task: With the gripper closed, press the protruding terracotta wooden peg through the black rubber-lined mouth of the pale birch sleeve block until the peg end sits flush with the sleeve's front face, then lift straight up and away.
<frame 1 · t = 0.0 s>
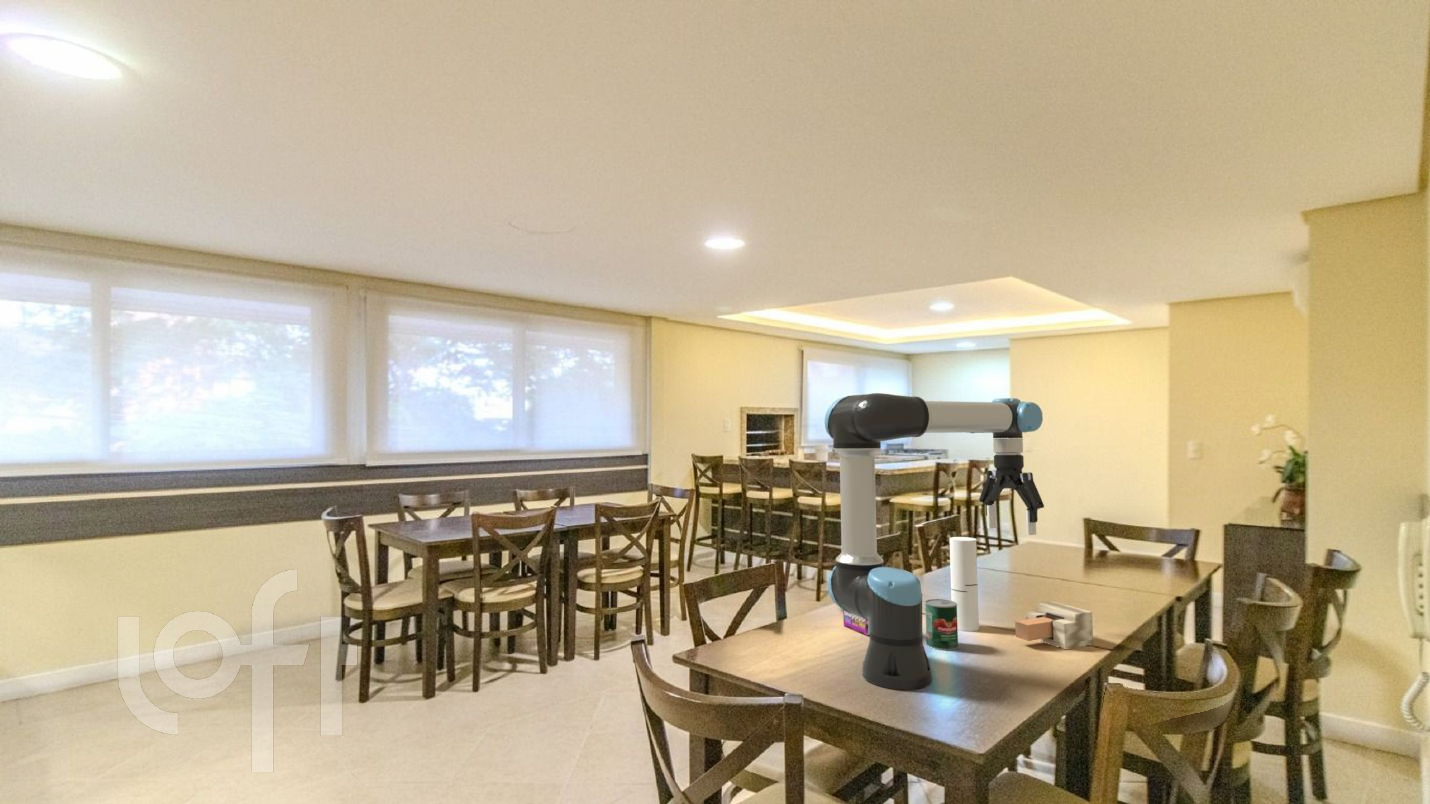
hand: (1011, 531, 179), 28 cm above the table, tool pointing down, fingers open, 13 cm apart
sleeve: (1059, 640, 172), on the table
canned tomato: (942, 646, 169), on the table
cylindrical container: (965, 628, 185), on the table
peg: (1036, 628, 170), point 4 cm above the table, slide at 8.0 cm
candy bar box: (861, 630, 184), on the table
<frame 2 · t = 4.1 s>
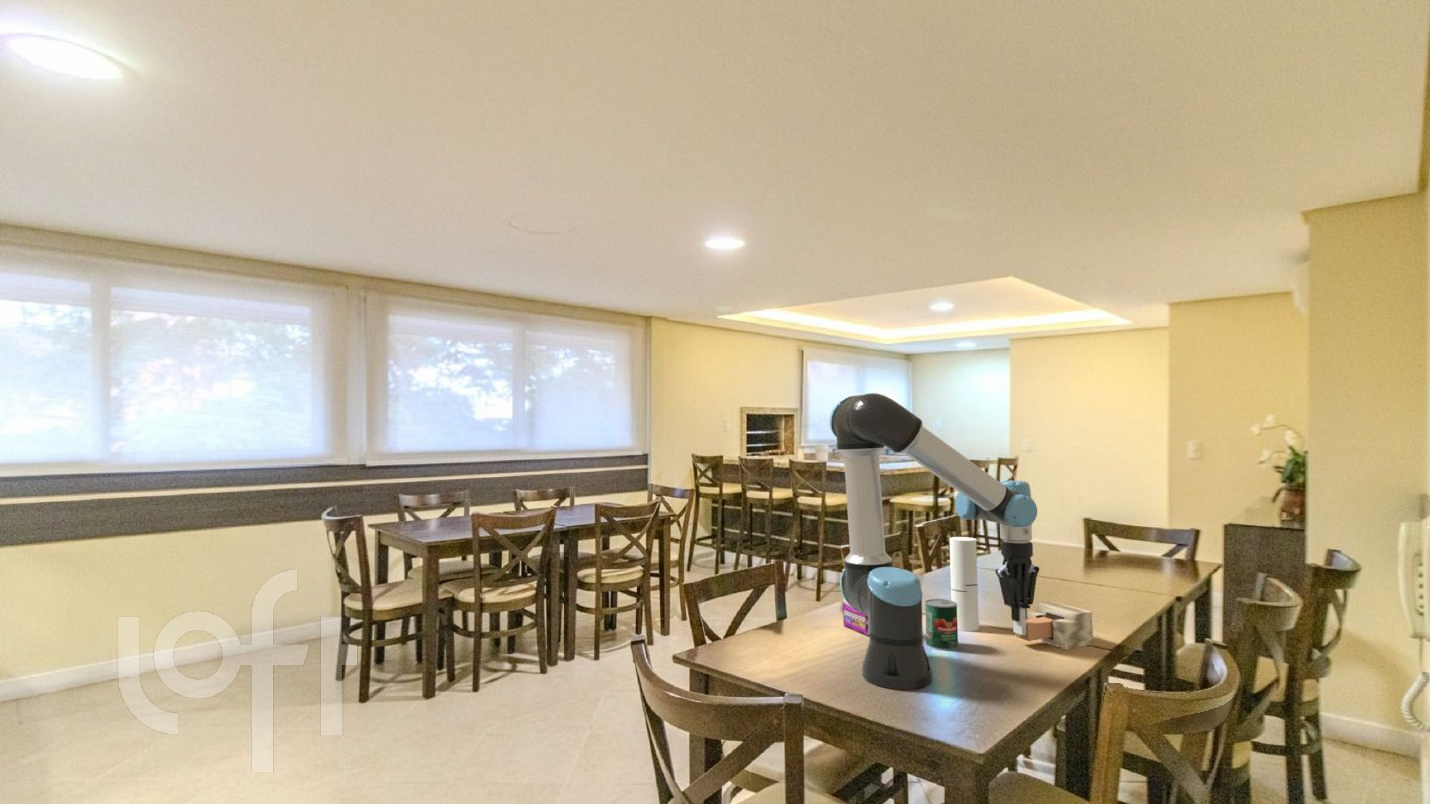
hand: (1019, 633, 167), 4 cm above the table, tool pointing down, fingers closed
peg: (1036, 628, 170), point 4 cm above the table, slide at 8.0 cm, touching gripper
everything else where it was.
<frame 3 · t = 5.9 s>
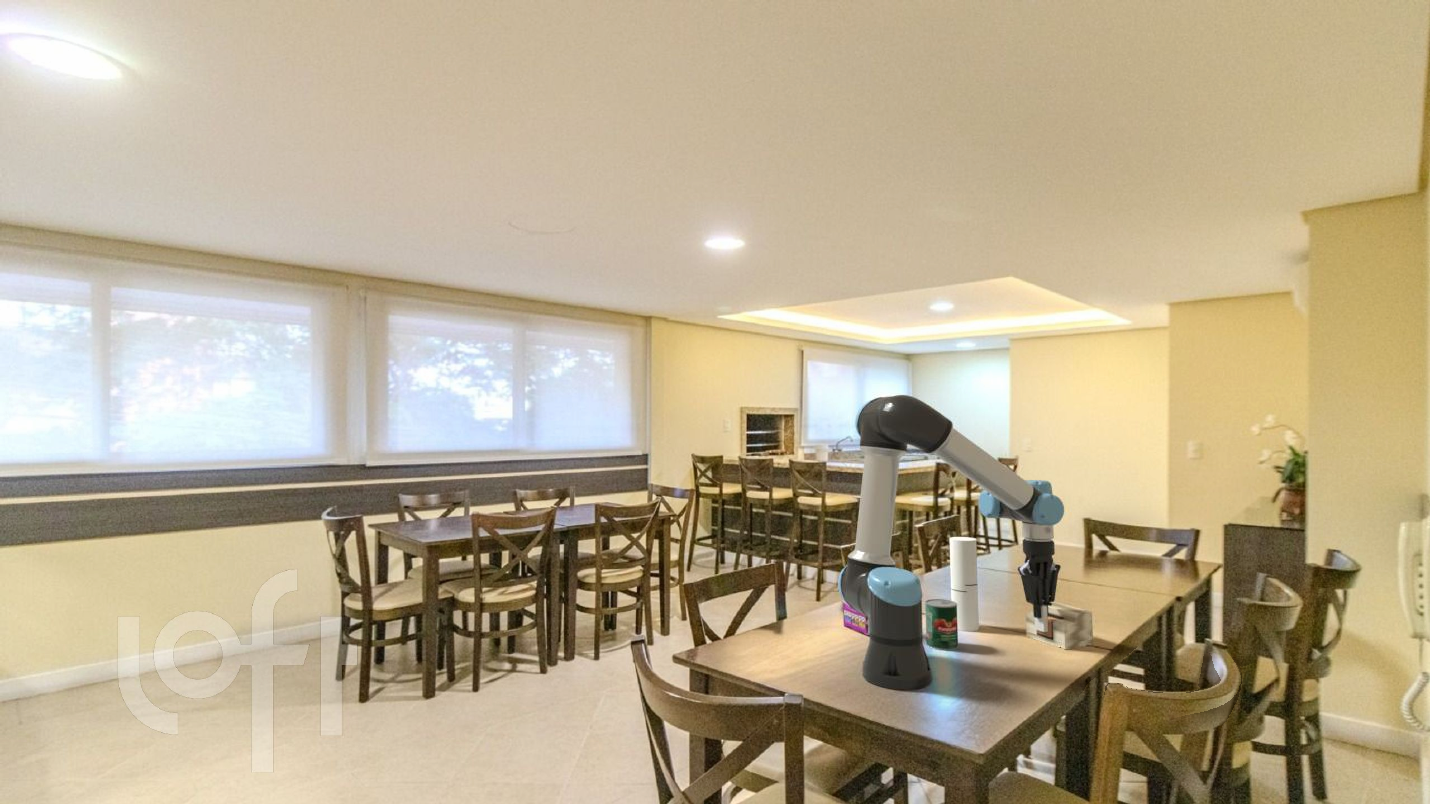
hand: (1041, 630, 170), 3 cm above the table, tool pointing down, fingers closed
peg: (1057, 625, 172), point 4 cm above the table, slide at 0.4 cm, touching gripper
everything else where it was.
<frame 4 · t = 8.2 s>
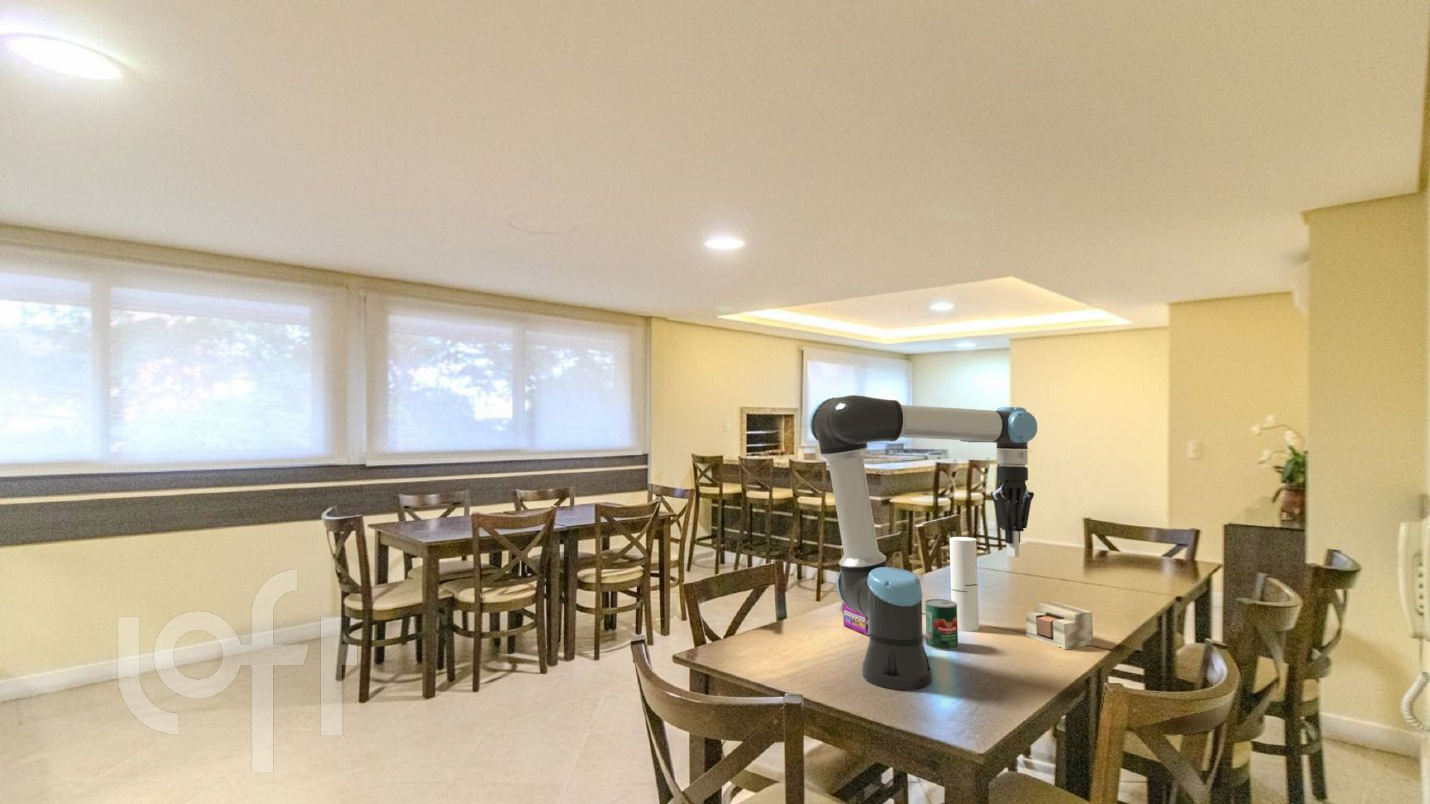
hand: (1012, 555, 170), 23 cm above the table, tool pointing down, fingers closed
peg: (1057, 625, 172), point 4 cm above the table, slide at 0.4 cm
everything else where it was.
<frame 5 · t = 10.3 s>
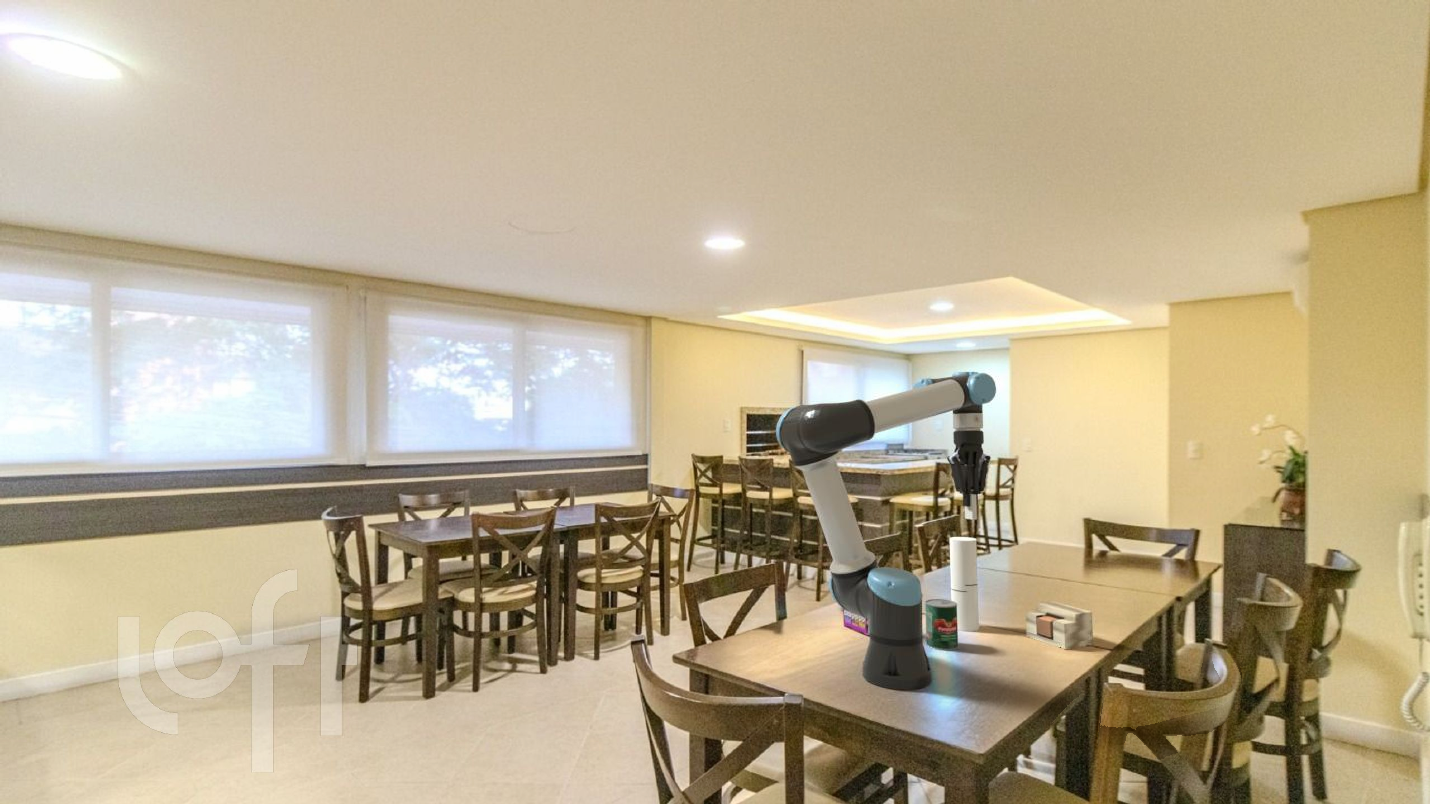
hand: (970, 518, 172), 32 cm above the table, tool pointing down, fingers closed
nothing on the table moved.
at the end: peg slide at 0.4 cm; the gripper is holding nothing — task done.
